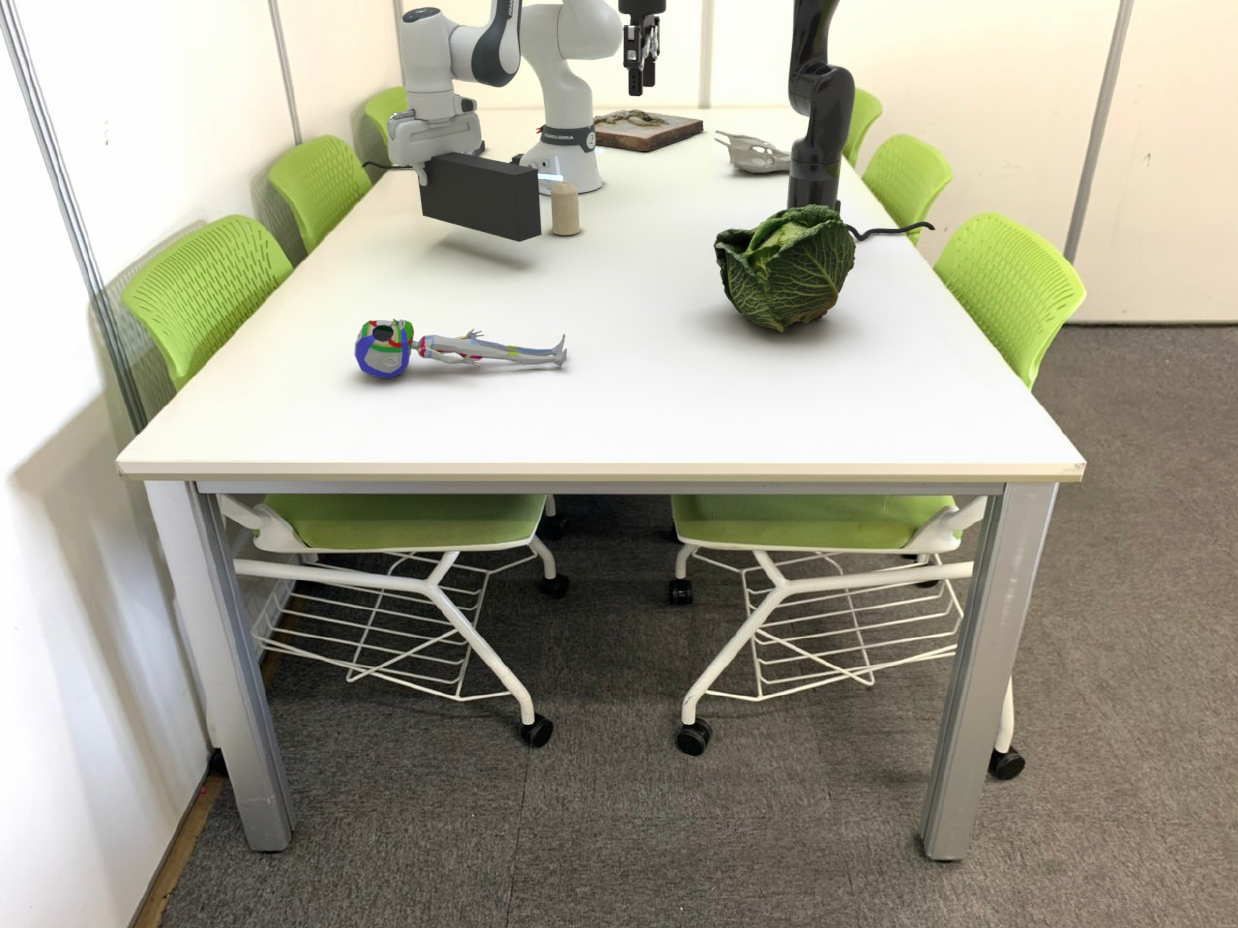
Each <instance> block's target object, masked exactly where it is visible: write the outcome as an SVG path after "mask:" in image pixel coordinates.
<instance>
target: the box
mask: <svg viewBox="0 0 1238 928" xmlns="http://www.w3.org/2000/svg"><path fill="white" fill-rule="evenodd" d="M424 163H425V167H424V168H423V170H424V171H425V173H426V175H430V178H431V184H430V185H426V186H423V185H421V184H420V182H419V176H418V175H417V183H418V190H419V197H420V204H421V205H420V206H421V213H422V216H423V217H427V218H430V219H432V220H433V219H434V220H438V221H441V222H444V223H449V224H452V225H455V226H459V227H463V228H466V229H470V230H474V231H478V232H481V233H485V234H488V235H492V236H496V237H499V238H502V239H507V240H510V241H514V242H518V243H521V242H524V241H527V240H530V239H533V238H536V237H539V236H542V235H543V234H542V217H541V201H540V199H541V198H540V193H539V181H538V169H535V168H530V167H526V166H521V165H516V164H511V163H509V162H505V161H500V160H495V159H491V158H486V157H481V156H472V155H467V154H462V153H457V152H452V153H447V154H443V155H438V156H434V157H431V160H429V161H425V162H424Z"/></svg>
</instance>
